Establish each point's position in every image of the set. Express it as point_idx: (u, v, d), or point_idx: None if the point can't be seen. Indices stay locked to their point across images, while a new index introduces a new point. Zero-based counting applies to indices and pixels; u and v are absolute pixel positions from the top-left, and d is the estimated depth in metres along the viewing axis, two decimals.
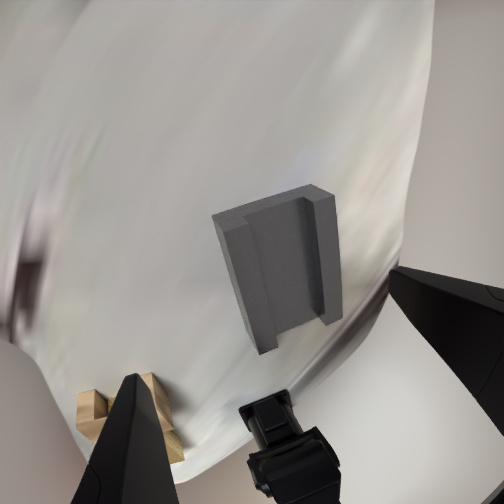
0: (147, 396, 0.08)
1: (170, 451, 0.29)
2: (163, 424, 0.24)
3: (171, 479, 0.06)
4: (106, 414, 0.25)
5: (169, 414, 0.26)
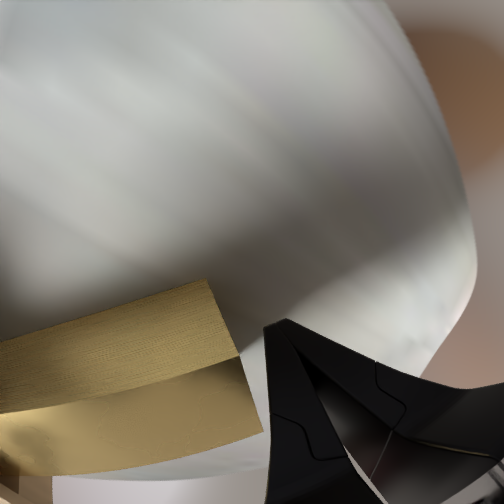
0: None
1: (103, 411, 0.06)
2: None
3: None
4: None
5: None
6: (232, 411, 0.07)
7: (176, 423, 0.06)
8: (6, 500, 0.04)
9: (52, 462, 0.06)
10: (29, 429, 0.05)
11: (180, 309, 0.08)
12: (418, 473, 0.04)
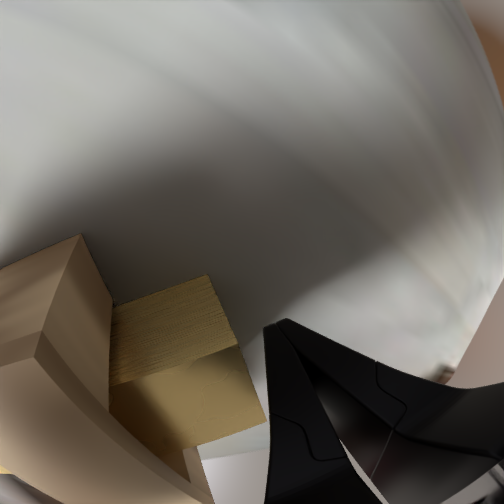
0: None
1: None
2: None
3: None
4: None
5: (31, 305, 0.04)
6: (234, 400, 0.07)
7: (180, 413, 0.07)
8: (187, 494, 0.06)
9: None
10: None
11: (181, 301, 0.08)
12: (419, 472, 0.04)
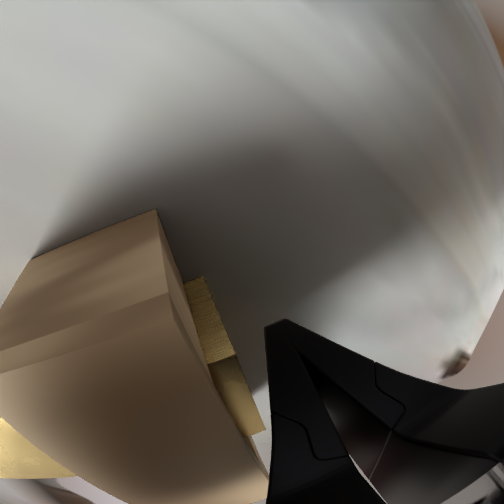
0: None
1: None
2: (102, 375, 0.04)
3: None
4: None
5: (133, 272, 0.05)
6: (232, 410, 0.07)
7: None
8: (263, 473, 0.07)
9: (56, 464, 0.06)
10: None
11: None
12: (417, 474, 0.04)
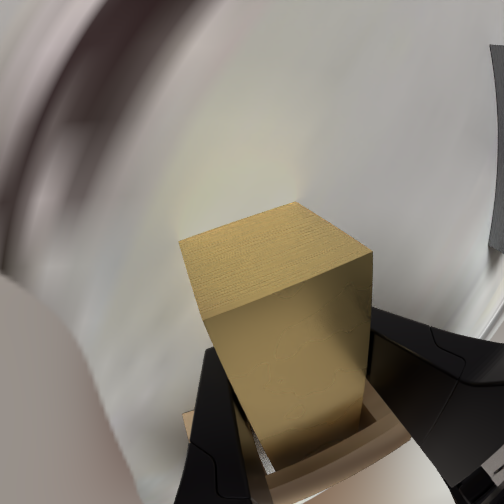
0: None
1: (346, 438, 0.10)
2: (406, 435, 0.10)
3: (257, 453, 0.07)
4: None
5: None
6: None
7: None
8: None
9: (289, 429, 0.08)
10: (343, 413, 0.09)
11: None
12: (480, 420, 0.04)
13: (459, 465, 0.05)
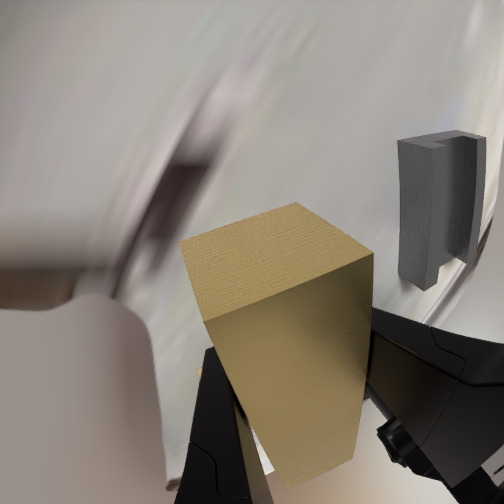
0: None
1: (346, 438, 0.10)
2: None
3: (257, 453, 0.07)
4: None
5: None
6: (317, 473, 0.11)
7: (321, 462, 0.10)
8: None
9: (289, 430, 0.08)
10: (343, 413, 0.09)
11: None
12: (480, 421, 0.04)
13: (459, 466, 0.05)
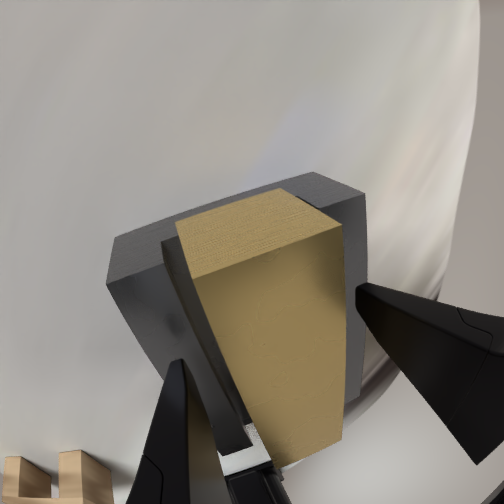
0: (193, 382, 0.08)
1: (333, 415, 0.11)
2: None
3: (220, 466, 0.07)
4: (39, 485, 0.14)
5: (110, 500, 0.14)
6: (306, 452, 0.12)
7: (309, 440, 0.11)
8: None
9: (274, 399, 0.09)
10: (327, 386, 0.10)
11: None
12: None
13: (486, 440, 0.05)
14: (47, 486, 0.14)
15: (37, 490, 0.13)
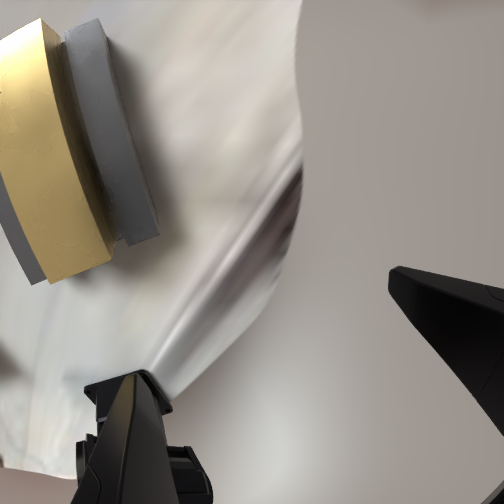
0: (147, 396, 0.08)
1: (73, 196, 0.11)
2: None
3: (171, 479, 0.06)
4: None
5: None
6: (72, 263, 0.12)
7: (63, 235, 0.12)
8: None
9: (11, 148, 0.09)
10: (50, 143, 0.10)
11: (108, 226, 0.14)
12: None
13: None
14: None
15: None
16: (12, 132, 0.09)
